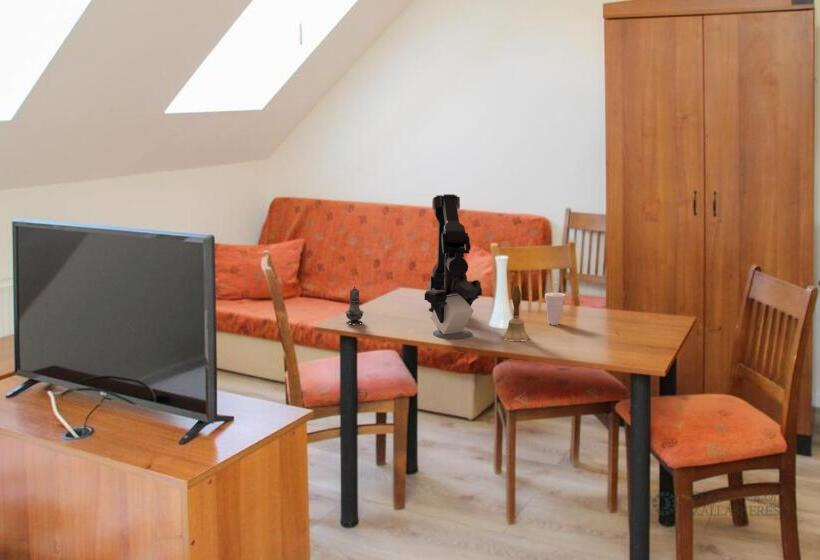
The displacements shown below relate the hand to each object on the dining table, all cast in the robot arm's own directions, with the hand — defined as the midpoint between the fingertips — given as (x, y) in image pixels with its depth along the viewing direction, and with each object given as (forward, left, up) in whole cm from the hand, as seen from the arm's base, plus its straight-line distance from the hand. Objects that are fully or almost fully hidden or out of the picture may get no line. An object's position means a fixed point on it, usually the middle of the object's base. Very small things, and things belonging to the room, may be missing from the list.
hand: (453, 320), depth 296 cm
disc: (0, 0, -4) cm, 4 cm away
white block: (0, -3, -2) cm, 4 cm away
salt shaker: (+16, -29, -4) cm, 33 cm away
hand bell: (-12, +15, -4) cm, 20 cm away
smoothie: (-34, +10, -4) cm, 36 cm away
